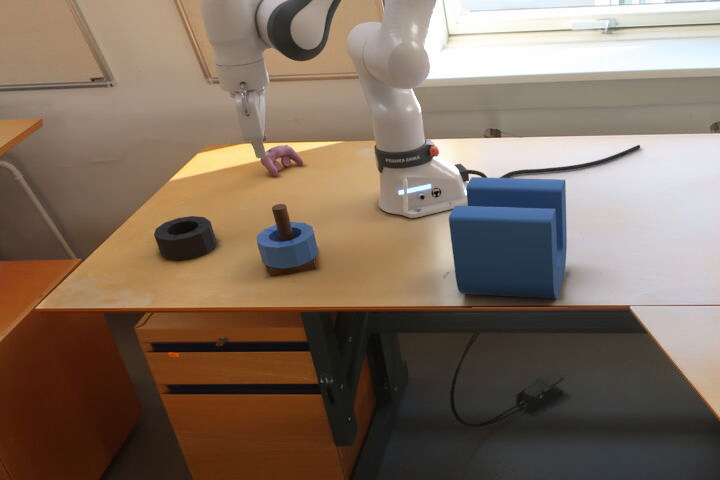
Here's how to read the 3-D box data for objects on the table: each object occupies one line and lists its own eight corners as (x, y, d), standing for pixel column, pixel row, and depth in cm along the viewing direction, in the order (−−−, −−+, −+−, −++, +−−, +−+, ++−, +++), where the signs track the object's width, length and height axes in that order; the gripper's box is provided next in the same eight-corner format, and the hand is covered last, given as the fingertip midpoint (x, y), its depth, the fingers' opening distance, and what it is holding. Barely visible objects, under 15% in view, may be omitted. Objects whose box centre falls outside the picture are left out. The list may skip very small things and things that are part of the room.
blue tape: (316, 238, 167) (311, 218, 164) (319, 262, 158) (314, 241, 155) (262, 247, 164) (256, 227, 161) (262, 272, 155) (256, 251, 153)
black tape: (217, 232, 174) (211, 213, 172) (214, 255, 166) (207, 234, 163) (165, 240, 172) (158, 220, 169) (158, 263, 163) (151, 243, 161)
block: (554, 310, 142) (551, 220, 132) (459, 305, 145) (448, 217, 135) (567, 262, 157) (565, 178, 146) (480, 258, 159) (472, 175, 149)
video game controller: (297, 167, 208) (284, 143, 206) (306, 163, 205) (293, 138, 202) (268, 180, 201) (254, 155, 199) (276, 176, 198) (262, 150, 196)
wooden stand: (314, 249, 166) (301, 194, 159) (315, 268, 159) (302, 212, 152) (271, 255, 164) (256, 201, 157) (270, 275, 157) (254, 219, 150)
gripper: (259, 89, 136) (278, 165, 144) (261, 60, 152) (278, 129, 160) (222, 93, 135) (243, 169, 143) (228, 63, 151) (246, 133, 159)
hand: (261, 148), depth 152 cm, fingers open, 8 cm apart
